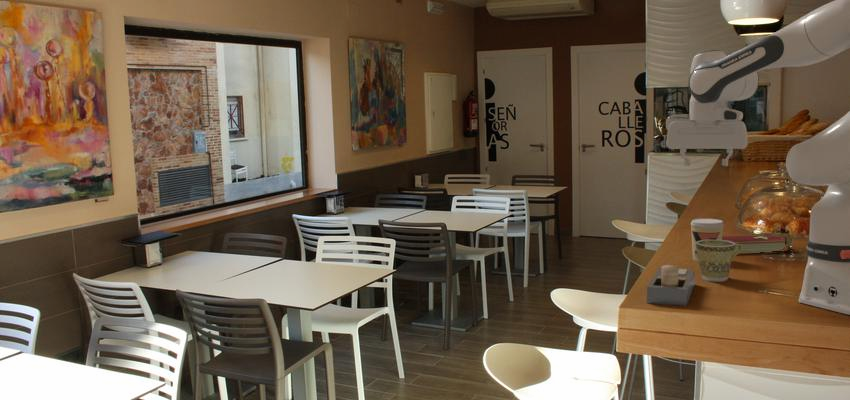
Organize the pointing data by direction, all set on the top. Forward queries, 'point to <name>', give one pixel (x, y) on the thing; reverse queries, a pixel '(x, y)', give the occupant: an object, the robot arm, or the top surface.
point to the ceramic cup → (715, 258)
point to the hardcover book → (756, 243)
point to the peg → (669, 276)
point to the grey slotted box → (671, 289)
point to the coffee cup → (705, 232)
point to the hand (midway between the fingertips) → (705, 165)
